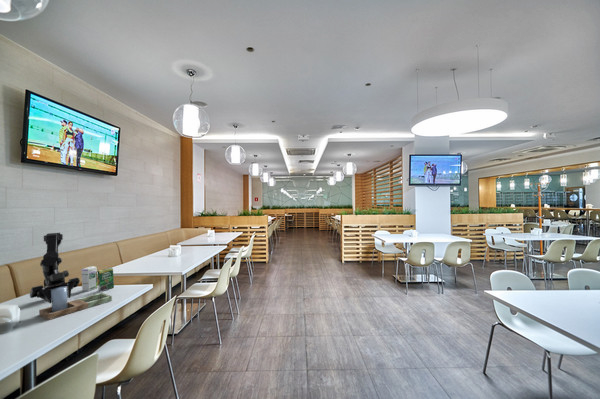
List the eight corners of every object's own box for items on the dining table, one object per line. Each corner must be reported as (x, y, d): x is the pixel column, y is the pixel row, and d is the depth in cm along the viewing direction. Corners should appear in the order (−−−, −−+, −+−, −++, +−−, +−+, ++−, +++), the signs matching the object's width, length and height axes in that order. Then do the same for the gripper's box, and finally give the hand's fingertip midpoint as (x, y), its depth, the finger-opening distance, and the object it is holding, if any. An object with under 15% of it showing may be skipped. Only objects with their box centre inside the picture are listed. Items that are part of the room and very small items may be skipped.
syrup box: (89, 291, 166) (88, 268, 166) (81, 290, 167) (81, 268, 167) (97, 288, 171) (97, 266, 171) (90, 287, 172) (90, 266, 173)
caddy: (47, 320, 125) (47, 314, 125) (39, 314, 131) (39, 310, 131) (111, 300, 148) (111, 296, 148) (101, 296, 154) (101, 292, 154)
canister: (57, 310, 136) (56, 287, 136) (70, 309, 137) (69, 286, 137) (48, 315, 130) (48, 291, 130) (62, 314, 131) (61, 289, 131)
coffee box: (99, 291, 164) (99, 271, 164) (97, 290, 166) (97, 270, 166) (114, 287, 171) (113, 268, 171) (112, 287, 172) (111, 267, 173)
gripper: (30, 271, 127) (39, 297, 122) (77, 262, 143) (87, 285, 138) (26, 285, 131) (33, 310, 126) (72, 275, 147) (81, 297, 142)
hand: (60, 300), depth 132 cm, fingers open, 7 cm apart
